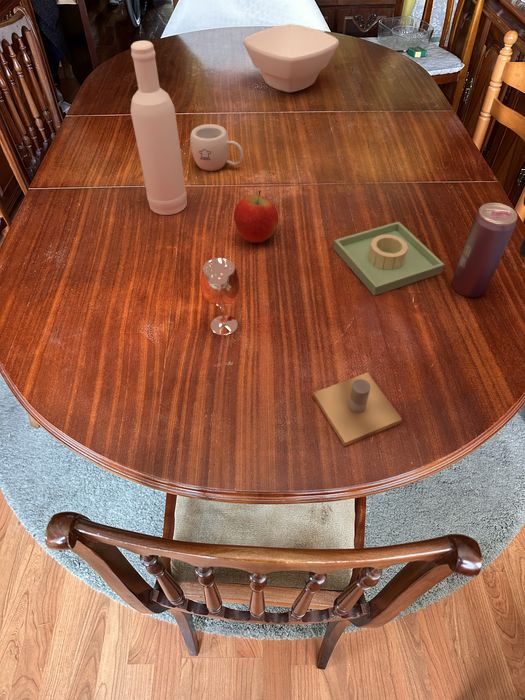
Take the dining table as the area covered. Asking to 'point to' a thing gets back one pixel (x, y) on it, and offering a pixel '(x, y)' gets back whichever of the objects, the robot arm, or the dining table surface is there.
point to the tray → (377, 280)
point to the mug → (212, 147)
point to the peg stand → (356, 408)
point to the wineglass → (220, 291)
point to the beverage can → (484, 249)
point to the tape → (388, 259)
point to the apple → (256, 218)
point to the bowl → (290, 55)
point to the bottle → (156, 135)
